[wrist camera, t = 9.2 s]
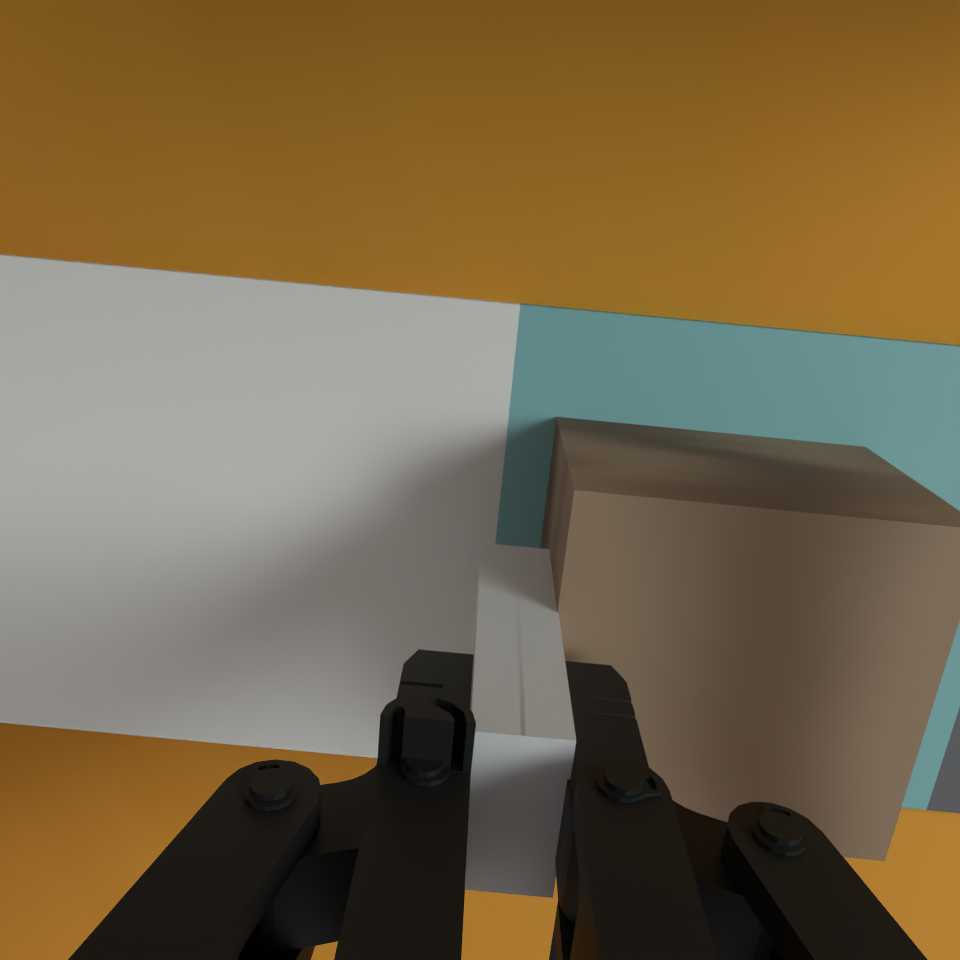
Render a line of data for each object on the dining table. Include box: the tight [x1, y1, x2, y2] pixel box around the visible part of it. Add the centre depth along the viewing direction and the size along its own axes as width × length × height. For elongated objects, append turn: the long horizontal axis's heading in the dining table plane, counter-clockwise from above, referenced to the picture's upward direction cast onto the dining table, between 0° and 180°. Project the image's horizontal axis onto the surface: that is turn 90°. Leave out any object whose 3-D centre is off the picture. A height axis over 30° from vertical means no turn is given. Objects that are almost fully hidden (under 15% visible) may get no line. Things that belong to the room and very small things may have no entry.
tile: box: [0, 254, 520, 758], centre depth 20 cm, size 16×12×1 cm
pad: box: [495, 303, 960, 810], centre depth 20 cm, size 12×12×1 cm
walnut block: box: [540, 417, 960, 861], centre depth 17 cm, size 7×7×5 cm
